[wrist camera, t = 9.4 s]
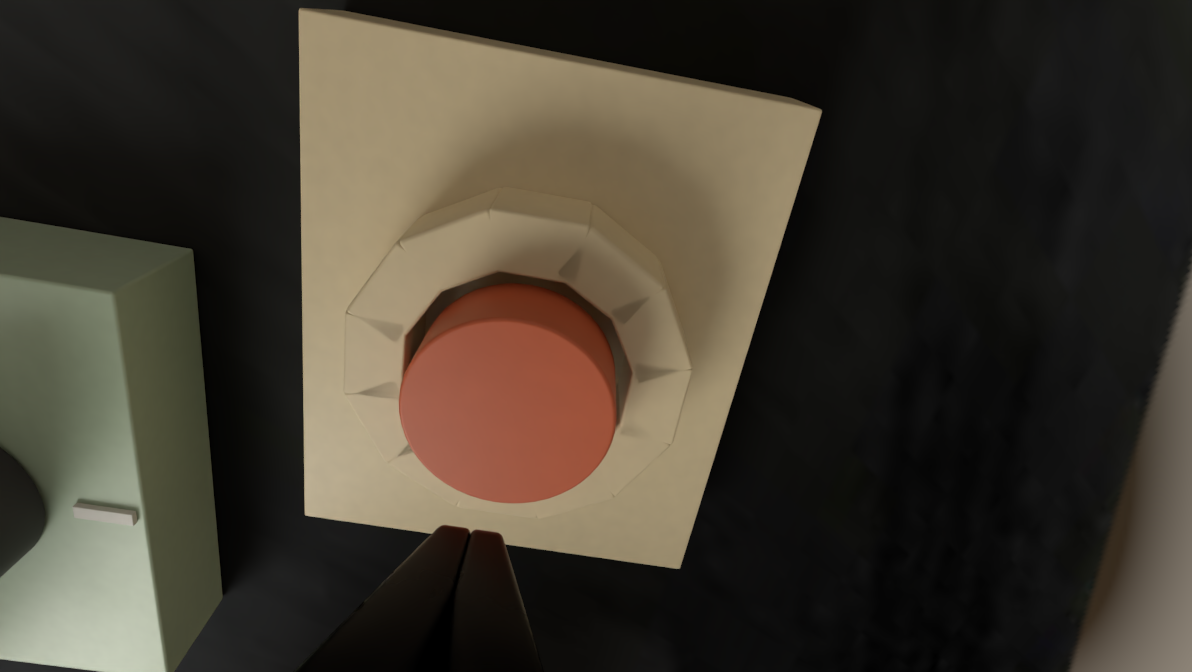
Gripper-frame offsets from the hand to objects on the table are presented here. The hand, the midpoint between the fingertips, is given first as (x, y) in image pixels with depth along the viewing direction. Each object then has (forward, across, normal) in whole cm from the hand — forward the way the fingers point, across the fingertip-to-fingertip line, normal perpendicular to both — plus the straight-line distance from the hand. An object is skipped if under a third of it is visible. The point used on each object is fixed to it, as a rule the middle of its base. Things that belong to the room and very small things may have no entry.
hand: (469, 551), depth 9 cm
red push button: (+5, 0, 0) cm, 5 cm away
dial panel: (+9, +13, +6) cm, 17 cm away
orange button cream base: (+9, 0, 0) cm, 9 cm away
